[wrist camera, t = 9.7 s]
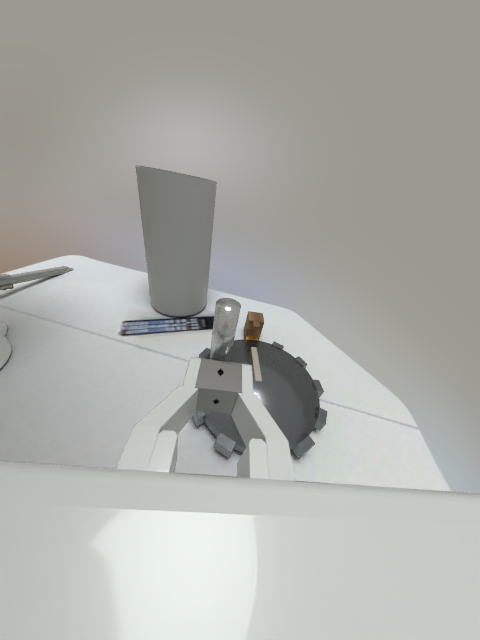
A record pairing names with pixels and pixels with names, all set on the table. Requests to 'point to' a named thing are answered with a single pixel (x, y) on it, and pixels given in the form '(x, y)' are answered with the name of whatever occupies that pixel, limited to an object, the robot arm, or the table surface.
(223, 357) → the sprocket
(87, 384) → the table surface
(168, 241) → the cylinder vase
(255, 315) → the brown wooden block
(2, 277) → the caliper
